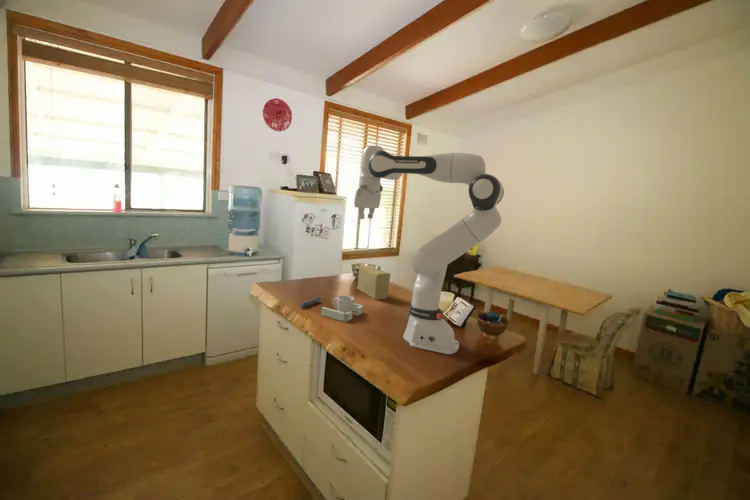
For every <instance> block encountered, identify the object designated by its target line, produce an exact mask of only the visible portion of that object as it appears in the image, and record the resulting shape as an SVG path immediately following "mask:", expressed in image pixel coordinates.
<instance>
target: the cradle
mask: <svg viewBox="0 0 750 500" xmlns="http://www.w3.org/2000/svg"><path fill="white" fill-rule="evenodd" d="M364 307H365V306H364V305H363V304H359V303H355V302H354V305H353V310H352V311H349V312H347V313H343V312H340V311H337V310H336V309H331V308H328V307H324V306H323V307H321V312H320V315H321V316H324V317H327V318H330V319H333V320H334V319H335V320H336V321H341V322H344V323H346V322H348V321H350V320H352V319H353V312H355V313H354V316H360V315H362V314H364Z"/></svg>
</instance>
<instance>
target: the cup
mask: <svg viewBox="0 0 750 500" xmlns="http://www.w3.org/2000/svg"><path fill="white" fill-rule="evenodd" d="M355 300H356V299H355V297H354V296H350V295H338V296H337V297H335V298H333V299H332V305H333V307H334V308H336V309H337V310H336V311H340V312H343V313H347V312H349V311H352V310H353V305H354V303H355Z"/></svg>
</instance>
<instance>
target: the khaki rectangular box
mask: <svg viewBox="0 0 750 500" xmlns="http://www.w3.org/2000/svg"><path fill="white" fill-rule="evenodd" d="M357 278H358V279H357V287H356V289H357V290H358V289H359V291H360V292H362V293H363V292H364V293H363V294H365V295H367V296H369V297H370V298H372V299H373V300H374V301H379V300H386V298H387V299H388V296H389V290H390V289H389V288H390V281H391V273H390V272H386V271H383V270H380V269H378V268H377V269H376V268H373V267H371V266H370V267H369V266H367V265H364V264H363V265H361V264H360V265H359V271H358V276H357Z"/></svg>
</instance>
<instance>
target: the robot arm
mask: <svg viewBox="0 0 750 500" xmlns="http://www.w3.org/2000/svg"><path fill="white" fill-rule="evenodd" d="M403 174H405V175H406V174H407V175H408V174H412V175H419V176H423V177H426V178H428V179H431V180H433V181H436V182H439V183H440V182H441V183H446V184H447V183H448V184H464V185H468V196H469V198H470V201H471V204H472V207H473V208H472V210H471V211H470V212H469V213H468V214H467V215H465V216H464V217H462V218H461V219H460V220H459V221H457V222H456V223H454V224H453V225H451V227H449V228H448V229H446V230H445V231H443V232H442V233H440V234H438V235H437V236H436V237H435V238H432V239H431V240H429V241H428V242H427V243H425V244H424V245H423V246H421V247H420V248H418V249H417V250H416V251H415V252H414V253H413V255H412V257H411V267H412V269H413V271H414V272H416V273H417V276H416V280H415V282H414V284H413V289H412V297H411V303H409V304H410V305H409V310H408V321H407V324H406V328H405V331H404V333H403V335H402V338H403V339H404V340H405V341H406V342H407V343H408V344H409V345H410V346H411V347H413V348H417V349H421V350H426V351H430V352H431V351H432V352H435V353H441V354H445V355H453V354H455V353H457V352H458V351H459V348H460V342H459V341H458V340H456V339H455V331H454V328H453V327H451V325H450V324H449V323H448V322H447V321H446V320H445V319H444V318H443V317H444V313H445V311H444V309H443V310H442V309H441V308H440V302H441V301H440V300H441V295H442V289H443V286H444V285H443V284H444V280H445V278H446V273H447V269H448V265H449V264H451V263H452V262H454V261H456V260H457V259H458V258H460V257H462V256H463V255H465V254H466V253H467V252H469V250H472V249H473V248H474V247H476V246H478V245H479V244H480V243H481V242H483V241H484V240H485V239H487V238H488V237H490V236H491V235H492V234H493V233H494V232H495V231H496V230H497V229H498V228H499V227H500V226H501V223H502V217H501V214H500V212H499V211H498V210H497V204H499V203H500V202H501V201H502V199H503V197H504V192H505V191H504V186H503V184H502V182H501V181H500V180H499V179H498V178H497V177H496V176H494V175H492V174H488V173H486V162H485V160H484V158H483V157H482V156H481V155H479V154H474V153H466V152H447V153H445V152H444V153H437V154H431V155H422V156H417V155H416V156H411V155H410V156H409V155H393V154H391V153H389V152H388V151H386V150H385V149H384V148H383V147H382V146H379V145H369V146H367V147H365V148H364V149H363V152H362V155H361V160H360V174H359V179H358V180H359V182H358V187H357V189H356V191H355V196H354V203H353V206H354V208H358V214H359V216H358V218H359V220H364V219H365V217H366V216H365V209H368V213H367V219H371V220H372V219H373V218H374V214H375V212H376V210H375V209H379V207H380V205H381V204H380V203H381V197H382V192H383V186H382V184H381V179H385V180H390V181H391V180H392V181H393V180H394V181H395V180H398V179H400V178H401V177H402V176H403Z"/></svg>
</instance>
